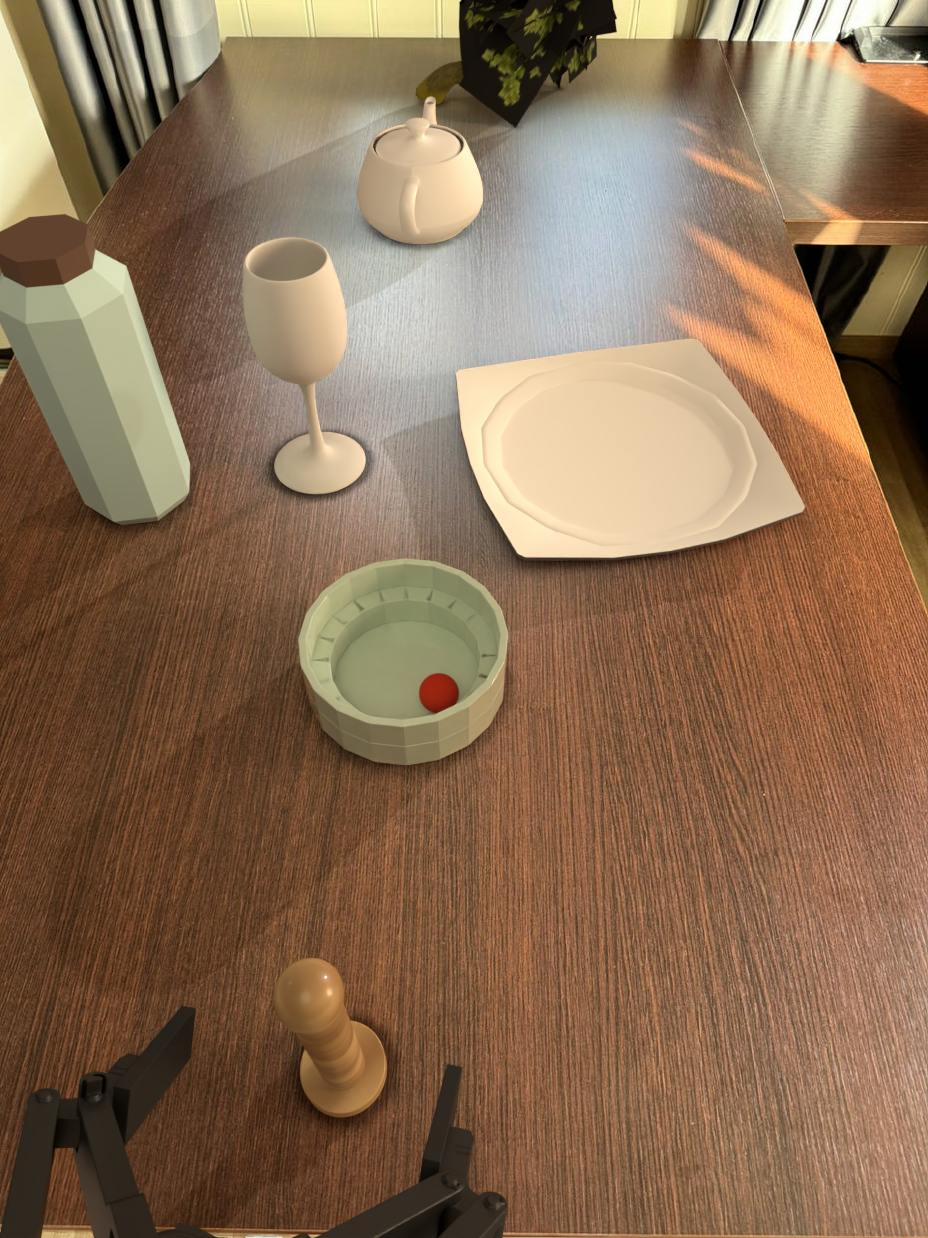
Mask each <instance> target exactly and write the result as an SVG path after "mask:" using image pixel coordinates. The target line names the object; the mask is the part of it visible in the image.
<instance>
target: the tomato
mask: <svg viewBox="0 0 928 1238" xmlns="http://www.w3.org/2000/svg"><path fill="white" fill-rule="evenodd" d="M458 697H459V689H458V686H457V683H456V682H455V681H454V679H453V678H451V677H450V676H448V675H446V674H443V673H435V674H432V675H429V676H428V677H426V678H425V679H424V680H423V682H422V683H421V685H420V688H419V698H420V701H421V703H422V705H423V706H424V707H425V708H426V709H427V710H429V711H431V712H434V713H439V712H441V711H443V710H445V709H447V708H449V707H452V706H454V705H455V704H456V703H457V700H458Z"/></svg>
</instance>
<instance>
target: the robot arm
mask: <svg viewBox="0 0 928 1238" xmlns="http://www.w3.org/2000/svg"><path fill="white" fill-rule="evenodd" d="M196 1013H197V1008H195V1007H191V1006H187V1005H181V1006H180V1007H179V1008H178V1009H177V1011H176V1012H175V1013H174V1014H173V1015H172V1016H171V1018H170V1019H169V1020H168V1021H167V1022H166V1023H165V1025H164V1026H163V1027H162V1028H161V1030H160V1031H159V1032H158V1033H157V1035H155V1036H154V1038H153V1039H152V1040H151V1041H150V1043H149V1044H148V1045H147V1046H146V1048H145V1049H144V1050H143V1051H142V1052H141V1053H140V1054H135V1053H131V1052H129V1053H127V1054H124V1055H123V1056H121V1057H119V1058H118V1059H117V1060H116V1061H115V1063H114V1064H113V1065H112V1066H111V1067H110V1068H109V1069H108V1071H107V1072H105V1071H99V1070H98V1071H97V1070H96V1071H91V1072H87V1073H85V1074H83V1075H82V1076H81V1077H80V1078H79V1081H78V1092H77V1097H72V1098H67V1097H66V1098H64V1097H63V1098H61V1092H59V1090H57V1089H56V1088H53V1087H45V1088H44V1087H43V1088H40V1089H37V1090H34V1092H32V1093H31V1094H30V1095H29V1097H28V1101H27V1105H26V1109H25V1115H24V1120H23V1124H22V1129H21V1133H20V1138H19V1142H18V1147H17V1151H16V1157H15V1162H14V1166H13V1171H12V1175H11V1180H10V1183H9V1184H10V1185H9V1188H8V1194H7V1199H6V1202H5V1203H6V1204H5V1207H4V1208H5V1209H4V1212H3V1218H2V1221H1V1227H0V1238H42V1237H43V1229H44V1224H45V1216H46V1211H47V1205H48V1198H49V1193H50V1192H49V1191H50V1187H51V1179H52V1173H53V1168H54V1166H53V1165H54V1161H55V1156H56V1155H55V1154H56V1149H57V1150H58V1149H72V1154H73V1158H74V1162H75V1166H76V1170H77V1174H78V1178H79V1182H80V1187H81V1190H82V1195H83V1200H84V1203H85V1208H86V1211H87V1216H88V1221H89V1224H90V1228H91V1232H92V1233H91V1234H92V1237H93V1238H227V1237H223V1236H222V1237H221V1236H215V1235H213V1234H211V1233H210V1232H208V1231H206V1230H204V1229H203V1228H200V1227H199V1226H195V1225H191V1224H187V1223H183V1222H178V1223H177V1225H176V1227H175V1228H172V1229H165V1230H164V1229H163V1230H159V1231H157V1228H156V1225H155V1222H154V1218H153V1216H152V1212H151V1209H150V1206H149V1203H148V1201H147V1197H146V1194H145V1192H140V1191H139V1188H138V1184H137V1182H136V1179H135V1178H136V1177H135V1175H134V1172H133V1168H132V1165H131V1163H130V1159H129V1156H128V1152H127V1149H126V1146H127V1145H128V1144H129V1142H130V1140H131V1139H132V1138H133V1136H135V1134H136V1133H137V1131H138V1130H139V1128H140V1127H141V1126H142V1125H143V1123H144V1121H145V1120H147V1118H148V1116H149V1115H150V1114H151V1112H152V1111H153V1110H154V1109H155V1107H156V1105H157V1104H158V1103H159V1102H160V1101H161V1099H162V1097H163V1096H164V1095H165V1093H166V1092H167V1091H168V1090H169V1088H170V1087H171V1085H173V1083H174V1081H175V1080H176V1079H177V1077H178V1076H179V1075H180V1073H181V1072H182V1071H183V1070H184V1068H185V1067H186V1065H187V1064H188V1062H189V1061H191V1059H192V1050H193V1041H194V1032H195V1023H196ZM463 1068H464V1067H463V1066H460V1065H455V1064H450V1063H447V1064H446V1067H445V1071H444V1075H443V1079H442V1082H441V1086H440V1090H439V1095H438V1097H437V1101H436V1106H435V1110H434V1113H433V1117H432V1120H431V1124H430V1128H429V1132H428V1135H427V1139H426V1143H425V1147H424V1150H423V1154H422V1158H421V1165H420V1172H419V1179H418V1183H415V1184H414V1185H412V1186H409V1187H408V1188H407V1189H404V1190H403V1191H400V1192H398V1193H397V1194H395V1195H393V1196H391V1197H389V1198H387V1199H385V1200H384V1201H382V1202H379V1203H378V1204H376V1205H373V1206H372V1207H370V1208H368V1209H366V1210H364V1211H363V1212H360V1213H359V1214H357V1215H355V1216H353V1217H351V1218H349V1219H347V1220H345V1221H343V1222H342V1223H339V1224H337V1225H336V1226H334V1227H332V1228H330V1229H328V1230H326V1231H325V1232H322V1233H321V1234H318V1235H316V1236H315V1237H313V1238H503V1237H504V1231H505V1225H506V1221H507V1220H506V1219H507V1212H508V1201H507V1199H506V1198H505V1197H504V1196H503V1195H502V1194H500V1193H498V1192H496V1191H491V1190H489V1191H484V1192H482V1193H480V1194H478V1193H477V1192H475V1191H473V1190H472V1188H470V1185H469V1184H468V1177H469V1174H470V1169H471V1168H470V1167H471V1162H472V1156H473V1150H474V1149H473V1148H474V1141H475V1138H474V1134H473V1132H472V1130H471V1129H467V1128H462V1127H457V1126H454V1124H455V1119H456V1115H457V1109H458V1108H457V1107H458V1099H459V1095H460V1094H459V1093H460V1088H461V1081H462V1073H463ZM291 1238H312V1237H311V1236H310V1234H308V1232H301V1233H299V1234H296V1235H294V1236H292V1237H291Z"/></svg>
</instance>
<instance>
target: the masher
mask: <svg viewBox="0 0 928 1238" xmlns="http://www.w3.org/2000/svg"><path fill="white" fill-rule="evenodd" d="M344 986H345V985H344V982H343V978H342V977H341V975H340V973H339V971H338V970H337V969H336V967H334V966H333V965H332V964H331V963H330V962H328V961H326V960H323V959H321V958H317V957H305V958H302V959H298V960H296V961H294V962H292V963H291V964H289V965H288V966H287V967H286V968H285V969H284V970H283V971H282V972H281V973H280V975H279V976H278V978H277V980H276V982H275V984H274V988H273V993H272V994H273V995H272V1003H273V1008H274V1011H275V1012H274V1013H275V1014H276V1016H277V1018H278V1020H279V1021H280V1022H281V1024H283V1026H285V1027H286V1028H287V1029H288V1030H290V1031H291V1032H294V1033H295V1035H296V1036H297V1038H298V1040H299V1041H300V1043H301V1045H302V1047H303V1048H304V1050H303V1052H302V1055H301V1059H300V1065H299V1077H300V1084H301V1087H302V1090H303V1093H304V1094H305V1096H306V1097H307V1099H308V1100H309V1101H310V1103H311V1104H312V1105H313V1106H314V1108H315V1109H317V1111H319V1112H321V1113H323V1114H325V1115H326V1116H329V1117H334V1118H349V1117H353V1116H356V1115H358V1114H361V1113H363V1112H364V1111H365V1110H367V1109H368V1108H369V1107H370V1106H371V1105H373V1103H374V1102H376V1100H377V1099H378V1097H379V1096H380V1094H381V1093H382V1090H383V1088H384V1086H385V1083H386V1079H387V1072H388V1061H387V1055H386V1052H385V1049H384V1046H383V1043H382V1042H381V1039H380V1038H379V1036H378V1035H377V1034H376V1033H375V1031H373V1029H371V1028H370V1027H368V1026H367V1025H365V1024H363V1023H361V1022H359V1021H356V1020H355V1021H354V1020H351V1019H350V1016H349V1014H348V1011H347V1008H346V1006H345V1003H344V1001H345V987H344Z"/></svg>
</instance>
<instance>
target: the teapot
mask: <svg viewBox="0 0 928 1238" xmlns="http://www.w3.org/2000/svg"><path fill="white" fill-rule="evenodd" d="M436 107H437V105H436V100H435V98H434V97H428V98H427V99H426V100H425V101H424V103H423V110H422V116H421V117H412V118H409V119H407V120H406V121H405V123H403V124H397V125H395V126H391V127H388V128H386V129H384V130H382V131H381V132H378V133H377V134H376V135H375V136H374V137H373V138H372V139H371V141H370V143H369V145H368V148H367V151H366V153H365V156H364V160H363V162H362V165H361V168H360V172H359V175H358V180H357V181H358V182H357V188H356V201H357V205H358V209H359V211H360V214H361V215H362V217H363V218H364V219H365V221H366V222H367V223H368V224H369V225H370V226H372V228H374V229H375V230H376V231H378V232H380V233H381V234H382V235H384V236H385V237H387V238H389V239H390V240H393V241H396V242H399V243H404V244H412V245H428V244H436V243H437V244H438V243H442V242H444V241H447V240H450V239H453V238H454V237H456V236H458V235H459V234H461V232H462V231H463V230H464V229H466V228H468V226H470V224H471V223H472V222H474V220H475V219H476V218H477V217H478V215H479V213H480V210H481V208H482V206H483V201H484V189H483V181H482V176H481V174H480V171H479V168H478V166H477V163H476V161H475V158H474V155H473V153H472V151H471V149H470V146H469V144H468V143H467V141H466V139H465V137H464V136H463V135H462V134H461V133H460V132H458V131H456V129H453V128H451V127H448V126H444V125H441V124H438V123H437V116H436V115H437V114H436Z"/></svg>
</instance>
